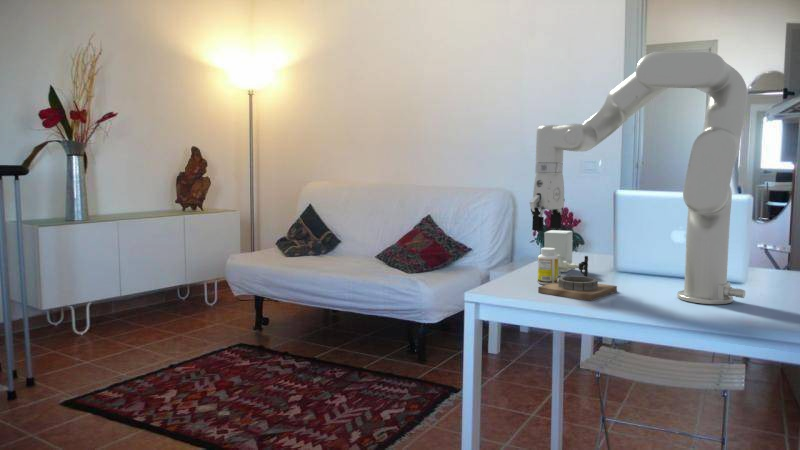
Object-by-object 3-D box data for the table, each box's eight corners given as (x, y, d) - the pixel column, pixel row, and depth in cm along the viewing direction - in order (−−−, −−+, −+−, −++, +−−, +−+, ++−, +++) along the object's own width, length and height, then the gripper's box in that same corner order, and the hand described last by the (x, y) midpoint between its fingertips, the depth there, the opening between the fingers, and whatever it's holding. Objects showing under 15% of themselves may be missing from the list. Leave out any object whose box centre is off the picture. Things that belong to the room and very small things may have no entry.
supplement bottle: (551, 281, 180) (552, 246, 178) (561, 284, 174) (561, 249, 173) (534, 282, 178) (534, 247, 177) (543, 285, 173) (543, 250, 172)
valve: (546, 277, 186) (587, 279, 182) (546, 256, 185) (587, 257, 181) (547, 273, 192) (587, 275, 188) (548, 253, 191) (588, 254, 188)
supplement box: (572, 269, 199) (573, 230, 198) (566, 272, 193) (566, 233, 192) (550, 267, 203) (551, 229, 202) (543, 270, 197) (543, 231, 196)
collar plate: (616, 291, 164) (617, 278, 164) (590, 300, 154) (590, 287, 153) (566, 284, 175) (566, 272, 174) (538, 292, 164) (538, 279, 164)
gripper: (544, 169, 164) (542, 233, 166) (576, 169, 177) (573, 228, 178) (520, 169, 169) (518, 230, 171) (552, 168, 182) (550, 225, 184)
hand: (546, 229), depth 175 cm, fingers open, 9 cm apart
